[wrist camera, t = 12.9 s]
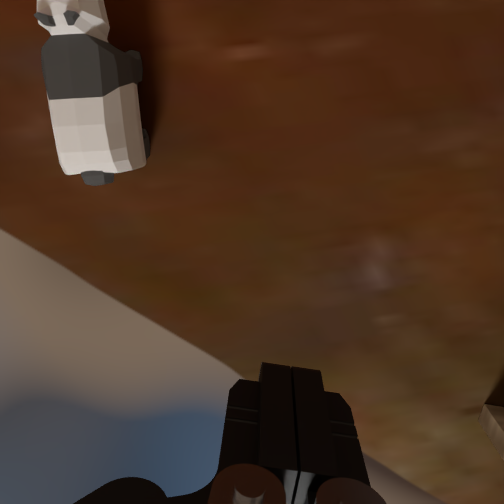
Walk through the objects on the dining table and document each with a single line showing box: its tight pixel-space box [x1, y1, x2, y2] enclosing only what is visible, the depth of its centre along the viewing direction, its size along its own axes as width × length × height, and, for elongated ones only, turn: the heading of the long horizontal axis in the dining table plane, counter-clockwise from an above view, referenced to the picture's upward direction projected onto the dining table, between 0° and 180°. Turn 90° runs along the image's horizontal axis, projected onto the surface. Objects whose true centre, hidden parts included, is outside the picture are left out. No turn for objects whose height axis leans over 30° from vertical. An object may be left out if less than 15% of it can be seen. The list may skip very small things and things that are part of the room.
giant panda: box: [34, 0, 150, 186], centre depth 33 cm, size 15×6×10 cm, turn 3°
